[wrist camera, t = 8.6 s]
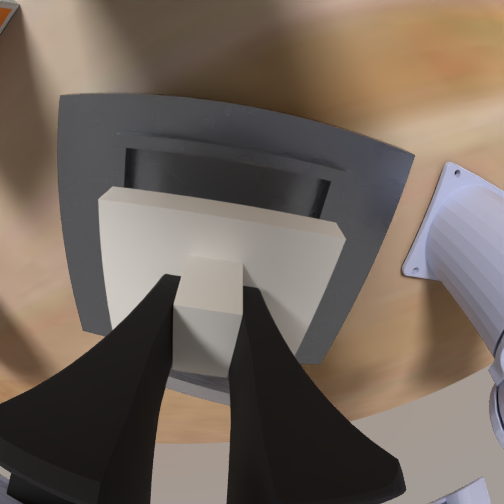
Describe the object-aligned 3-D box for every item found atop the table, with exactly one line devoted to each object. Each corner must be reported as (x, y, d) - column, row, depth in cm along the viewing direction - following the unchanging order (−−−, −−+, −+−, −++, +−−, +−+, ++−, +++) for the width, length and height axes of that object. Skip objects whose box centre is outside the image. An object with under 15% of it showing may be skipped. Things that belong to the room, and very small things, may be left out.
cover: (336, 222, 10) (371, 284, 7) (290, 337, 13) (301, 402, 10) (112, 186, 9) (60, 235, 6) (120, 311, 12) (95, 374, 9)
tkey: (135, 292, 16) (111, 353, 12) (244, 334, 18) (245, 396, 14) (130, 308, 16) (107, 367, 12) (234, 346, 18) (234, 407, 14)
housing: (403, 149, 13) (423, 159, 12) (317, 352, 22) (321, 372, 20) (71, 93, 11) (51, 96, 9) (88, 319, 19) (79, 338, 18)
